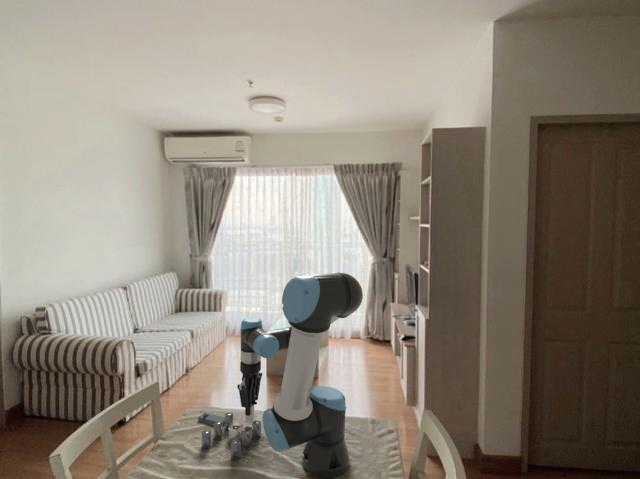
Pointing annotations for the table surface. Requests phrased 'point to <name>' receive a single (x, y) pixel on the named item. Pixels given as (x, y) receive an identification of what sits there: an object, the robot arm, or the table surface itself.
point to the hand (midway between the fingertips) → (249, 421)
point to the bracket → (210, 418)
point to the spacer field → (235, 443)
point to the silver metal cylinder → (235, 432)
